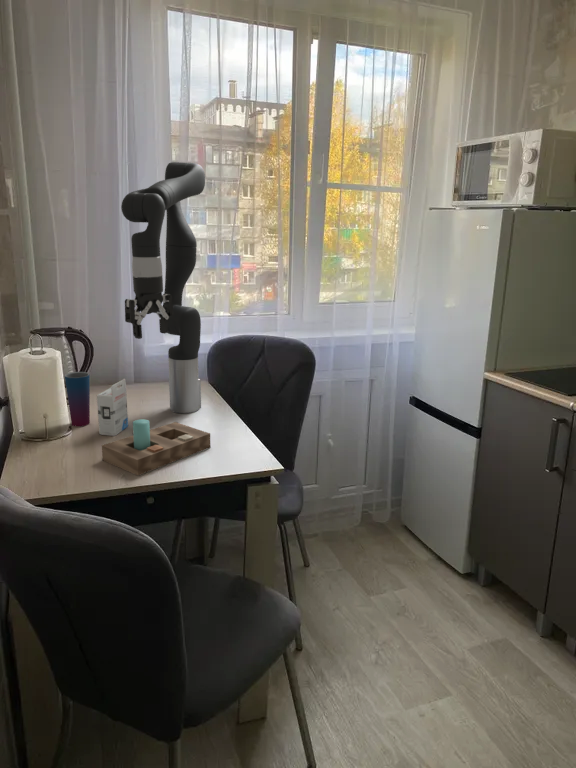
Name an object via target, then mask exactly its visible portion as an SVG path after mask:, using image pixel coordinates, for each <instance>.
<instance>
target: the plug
mask: <svg viewBox="0 0 576 768" xmlns="http://www.w3.org/2000/svg"><path fill="white" fill-rule="evenodd" d="M150 427H151V426H150V420H149V419H136V420H133V421H132V432H133V433H132V434H133V435H132V436H133V437H134V449H137V450H139V451H141V450H144V449H147V448H148V447H150V430H151V428H150Z"/></svg>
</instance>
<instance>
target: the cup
mask: <svg viewBox="0 0 576 768" xmlns="http://www.w3.org/2000/svg"><path fill="white" fill-rule="evenodd" d="M90 377H91V376H90V373H89V372H85V371H74V372H68V373H65V374H64V379H65V380H64V381H65V388H66V394H67V402H68V408H69V414H70V415H69V416H70V423H71V425H72V426H73V427H77V428H78V427H86V426H88V425H90V422H91V421H90V413H91V412H90V405H91V402H90V399H91V398H90V397H91V396H90V382H91V381H90Z"/></svg>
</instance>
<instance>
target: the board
mask: <svg viewBox="0 0 576 768" xmlns="http://www.w3.org/2000/svg"><path fill="white" fill-rule="evenodd" d="M210 448H211V433H210V432H207V431H204V430H200V429H197V428H196V427H191V426H189V425H185V424H183V423H179V422H177V421H174V422H171V423H168V424H164V425H162V426H158V427H155V428H152V429H151V428H150V447H148V448H147V449H144V450H141V451H139V450H137V449H134V437H133V435H130V436H126V437H124V438H120V439H117V440H114V441H112V442H108V443H105V444H104V443H103V444H102V445H101V455H102V457H101V458H102V461H103V462H106V463H108V464H111V465H112V466H115V467H118V468H119V469H121V470H125V471H126V472H129V473H132V474H134V475H136V476H141V475H143V474H147V473H148V472H151V471H154V470H156V469H158V468H159V469H160V468H162V467H164V466H166V465H169V464H171V463H172V464H173V463H174V462H177V461H179V460H181V459H184V458H187V457H190V456H191V455H195V454H197V453H200V452H203V451H205V450H208V449H210Z"/></svg>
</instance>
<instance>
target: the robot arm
mask: <svg viewBox="0 0 576 768" xmlns="http://www.w3.org/2000/svg"><path fill="white" fill-rule="evenodd" d="M164 172H165V173H164V174H165V175H164V179H163V180H159V181H157V182H155V183H153V184H152V185H150V186H148V187H147V188H142V189H138V190H133V191H131V192H129V193H127V194H125V196H124V198H122V201H121V205H120V206H121V207H120V208H121V212H122V215H123V217H125V219H126V220H128V221H129V222H131V223H147V226H146V227H145V230H144V231H140V232H135V233H133V234H132V235H131V254H132V255H131V256H132V259H131V261H132V262H131V264H132V265H131V268H132V271H131V272H132V285H133V286H132V287H133V292H134V294H135V296H134V299H130V298H125V300H124V320H125V323H130V324H131V325H132V335H133V337H134V339H138V340H141V339H143V332H142V331H143V330H142V329H143V328H142V321H143V320H144V318H145V317H146V316H147V315H150V314H156V315H157V316H158V317H159V324H158V325H159V333H161V334H169V335H172V336H179V341H178V344H177V345H174V346H171V347H169V349H168V354H167V355H168V359H167V360H168V380H169V381H168V384H169V385H168V386H169V389H168V390H169V410H170V411H171V412H172V413H178V414H188V413H189V414H190V413H194V412H197V411H198V410H199V409H200V408H202V386H201V385H202V380H201V379H200V378H199V350H200V346H201V332H202V331H201V328H202V327H201V326H202V324H201V323H202V322H201V316H200V313H199V311H198V310H197V309H196V308H195V307H190V306H185V305H184V306H183V293H184V288H185V286H186V284H187V283H188V282H187V281H188V280H189V278H190V277H191V276H192V273H193V272H194V269H195V267H196V265H197V264H196V263H197V239H196V236H195V234H194V232H193V230H192V228H191V226H190V225H189V223H188V222H187V220H186V218H185V215H184V213H183V209H182V206H181V201H183V200H186V199H188V198H191V197H194V196H198V195H201V194H202V193H203V191H204V189H205V186H206V174H205V170H204V168H203V167H202V165H200V164H198V163H195V162H182V161H181V162H177V161H175V162H174V161H171V162H169V163H167V165H166V168H165V171H164ZM165 214H166V215H165ZM165 216H166V231H165V232H166V234H165V277H164V278H165V280H164V279H163V265H162V258H161V246H160V245H161V242H160V241H161V233H162V228H163V227H162V226H163V223H164V220H165ZM164 283H165V284H164Z"/></svg>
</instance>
